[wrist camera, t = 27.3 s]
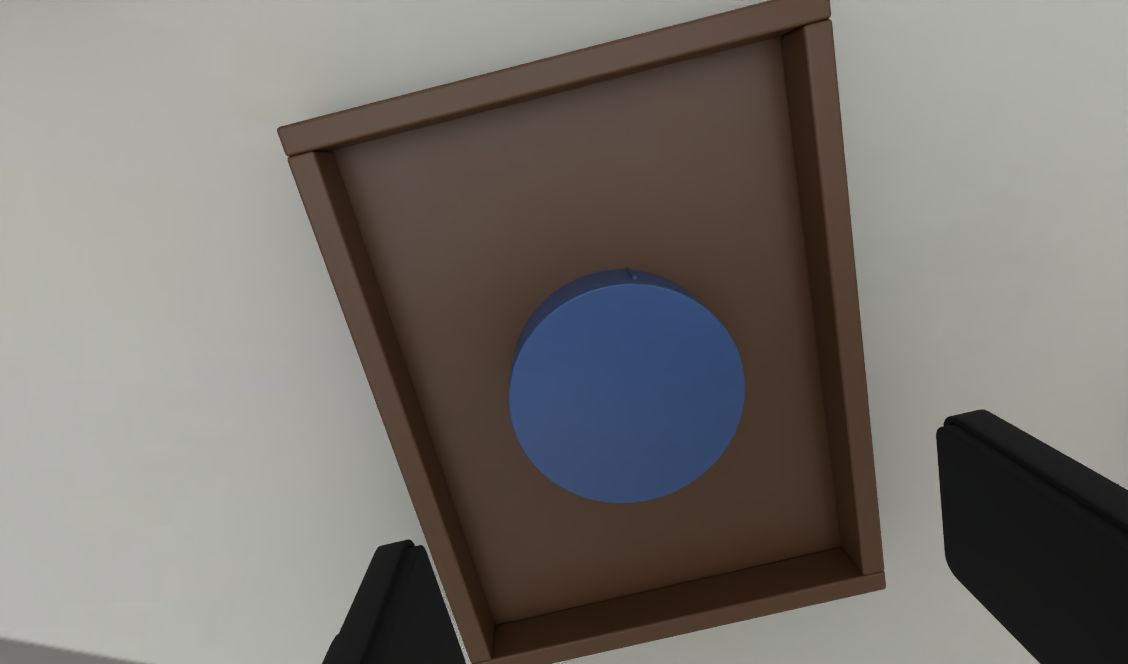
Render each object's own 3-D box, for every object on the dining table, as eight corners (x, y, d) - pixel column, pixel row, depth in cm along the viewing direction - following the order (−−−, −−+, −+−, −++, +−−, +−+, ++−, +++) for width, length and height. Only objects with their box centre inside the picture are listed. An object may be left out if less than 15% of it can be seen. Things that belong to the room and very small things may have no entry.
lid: (514, 261, 17) (511, 275, 15) (738, 270, 17) (762, 284, 15) (509, 467, 19) (505, 501, 17) (711, 472, 19) (729, 506, 17)
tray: (855, 549, 21) (887, 589, 19) (482, 633, 21) (476, 681, 19) (794, 4, 16) (829, -16, 14) (305, 130, 16) (274, 127, 14)
